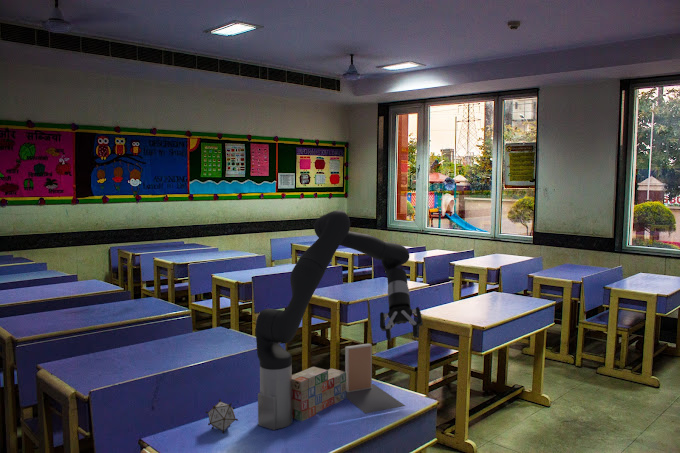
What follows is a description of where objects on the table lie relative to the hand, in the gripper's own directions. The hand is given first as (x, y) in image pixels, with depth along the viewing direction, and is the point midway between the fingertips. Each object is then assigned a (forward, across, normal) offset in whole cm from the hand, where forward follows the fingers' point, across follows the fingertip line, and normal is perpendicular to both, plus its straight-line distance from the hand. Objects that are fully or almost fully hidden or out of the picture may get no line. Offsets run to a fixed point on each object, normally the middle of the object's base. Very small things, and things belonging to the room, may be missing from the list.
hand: (402, 339), depth 182 cm
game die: (+32, -50, -24) cm, 64 cm away
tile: (+12, -18, +8) cm, 23 cm away
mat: (+18, -13, +4) cm, 22 cm away
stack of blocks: (+22, -28, -6) cm, 36 cm away
